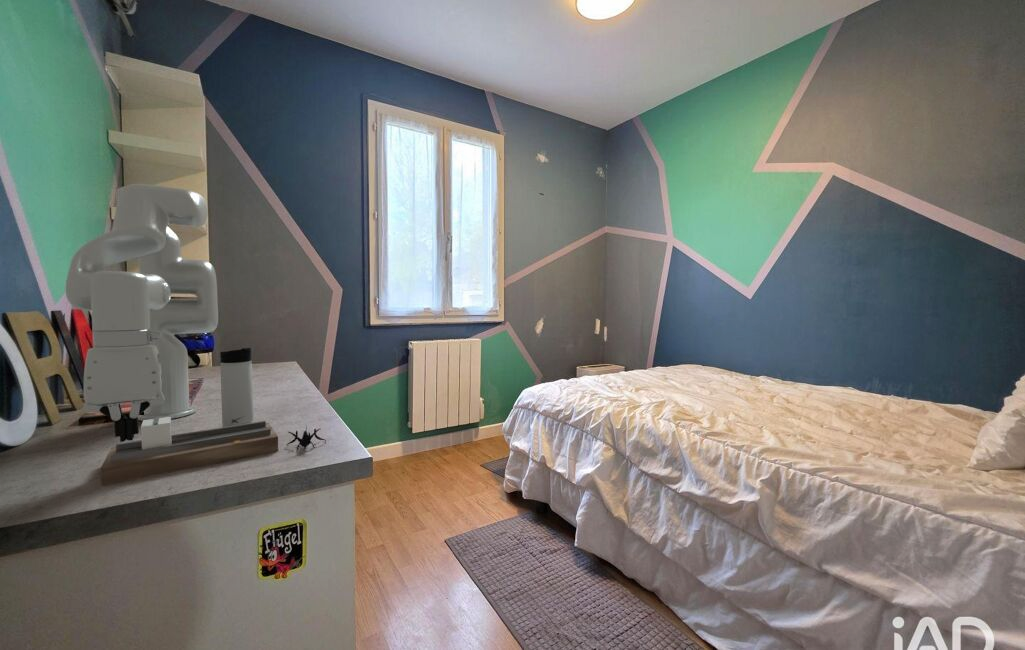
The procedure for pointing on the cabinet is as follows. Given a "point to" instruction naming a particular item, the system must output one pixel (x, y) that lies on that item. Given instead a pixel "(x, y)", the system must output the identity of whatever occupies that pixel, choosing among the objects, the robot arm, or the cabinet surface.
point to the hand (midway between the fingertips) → (127, 438)
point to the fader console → (188, 451)
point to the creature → (304, 438)
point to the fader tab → (156, 432)
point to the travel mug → (236, 387)
